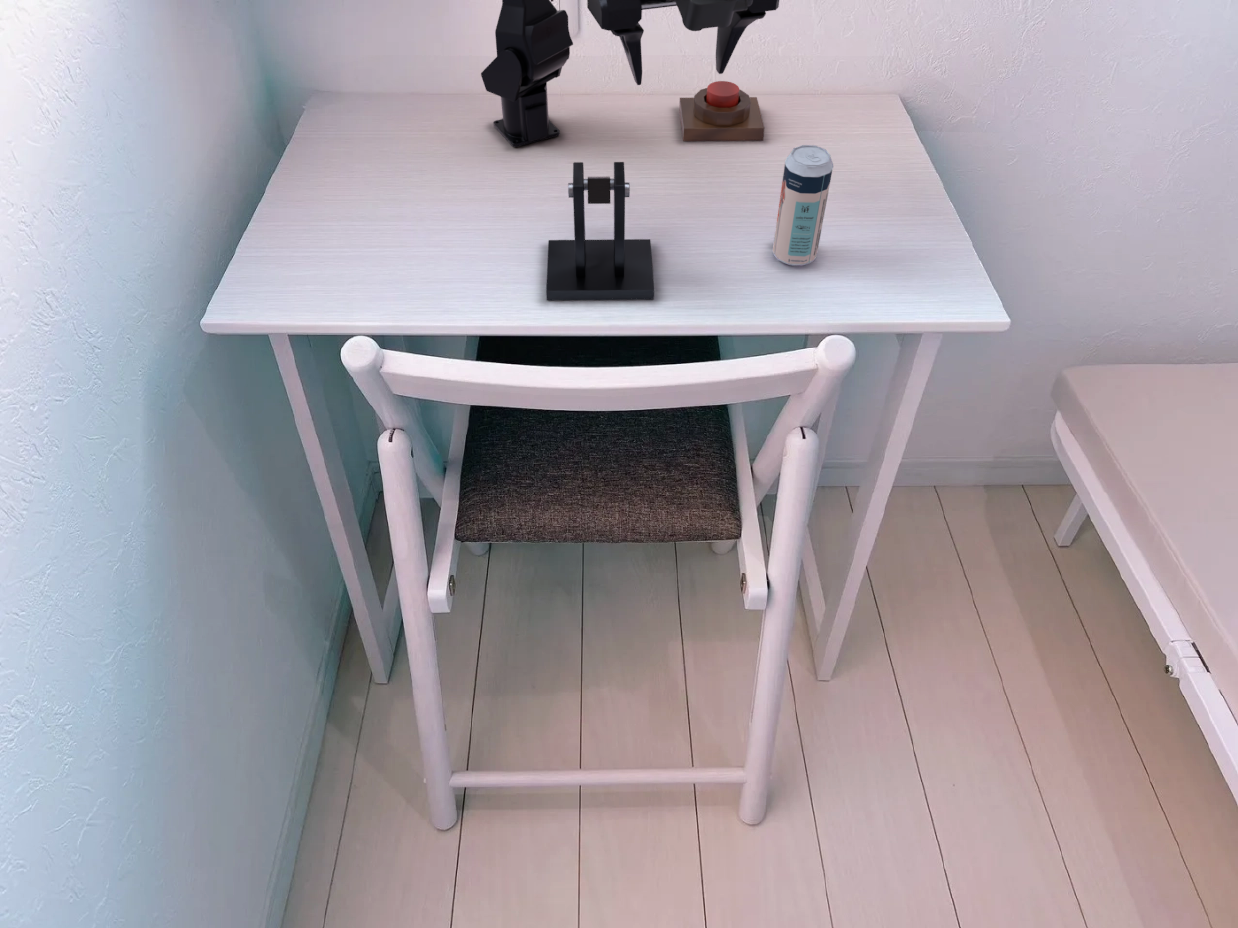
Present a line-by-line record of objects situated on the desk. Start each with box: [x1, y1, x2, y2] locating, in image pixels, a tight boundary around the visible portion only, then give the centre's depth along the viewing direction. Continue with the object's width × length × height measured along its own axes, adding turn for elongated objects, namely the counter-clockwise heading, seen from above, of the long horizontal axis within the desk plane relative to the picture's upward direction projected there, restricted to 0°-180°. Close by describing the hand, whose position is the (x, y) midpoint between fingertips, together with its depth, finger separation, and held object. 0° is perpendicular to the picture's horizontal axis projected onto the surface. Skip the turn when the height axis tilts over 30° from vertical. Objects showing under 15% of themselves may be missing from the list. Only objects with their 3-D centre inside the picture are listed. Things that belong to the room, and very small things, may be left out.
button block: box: [678, 87, 765, 142], centre depth 124 cm, size 10×8×4 cm
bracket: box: [545, 161, 655, 301], centre depth 99 cm, size 9×11×12 cm
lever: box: [584, 176, 614, 205], centre depth 100 cm, size 11×5×2 cm, turn 1°
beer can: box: [772, 144, 834, 267], centre depth 101 cm, size 5×5×12 cm
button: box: [706, 80, 740, 108], centre depth 122 cm, size 4×4×2 cm
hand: (679, 78), depth 104 cm, fingers open, 9 cm apart
